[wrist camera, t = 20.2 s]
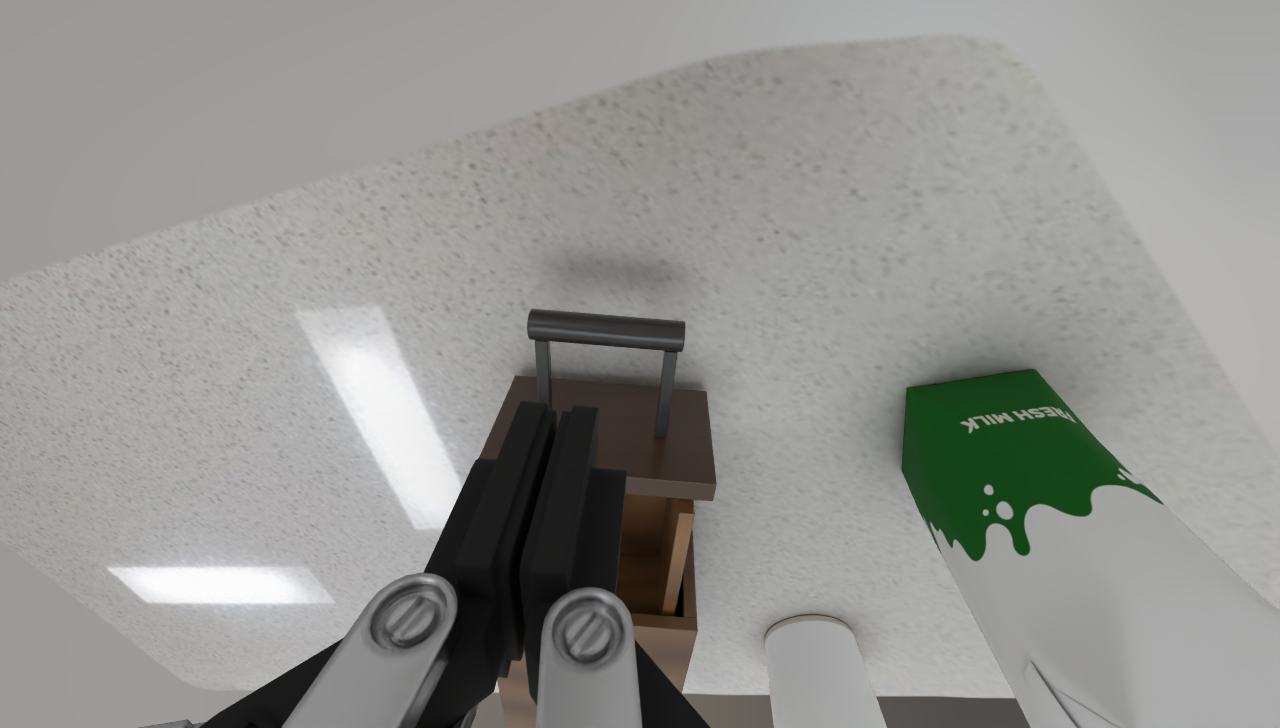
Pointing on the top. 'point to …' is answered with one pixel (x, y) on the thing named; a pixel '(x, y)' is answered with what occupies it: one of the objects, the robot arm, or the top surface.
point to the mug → (818, 676)
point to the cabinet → (654, 633)
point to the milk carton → (1083, 568)
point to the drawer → (631, 444)
